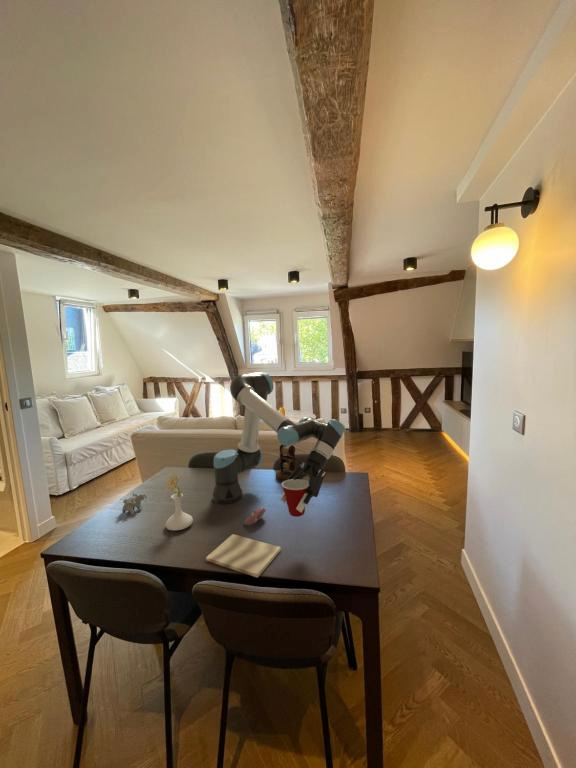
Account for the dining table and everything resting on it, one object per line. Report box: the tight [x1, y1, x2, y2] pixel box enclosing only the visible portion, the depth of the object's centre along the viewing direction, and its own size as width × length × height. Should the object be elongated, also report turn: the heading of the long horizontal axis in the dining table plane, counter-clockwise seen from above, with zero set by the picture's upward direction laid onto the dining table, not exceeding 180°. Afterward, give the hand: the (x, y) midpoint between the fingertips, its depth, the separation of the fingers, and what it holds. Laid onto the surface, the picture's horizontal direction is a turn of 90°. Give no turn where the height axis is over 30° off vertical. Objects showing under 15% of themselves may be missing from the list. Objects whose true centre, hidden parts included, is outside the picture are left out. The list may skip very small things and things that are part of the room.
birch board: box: [205, 533, 282, 578], centre depth 121 cm, size 22×16×1 cm
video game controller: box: [243, 506, 266, 526], centre depth 144 cm, size 10×5×7 cm, turn 149°
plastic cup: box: [281, 478, 309, 518], centre depth 125 cm, size 11×11×12 cm
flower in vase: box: [165, 472, 194, 532], centre depth 141 cm, size 13×11×25 cm
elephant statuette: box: [121, 492, 148, 516], centre depth 159 cm, size 9×12×8 cm
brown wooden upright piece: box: [275, 443, 297, 482], centre depth 188 cm, size 15×15×20 cm
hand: (290, 505), depth 124 cm, fingers closed on plastic cup, 9 cm apart
